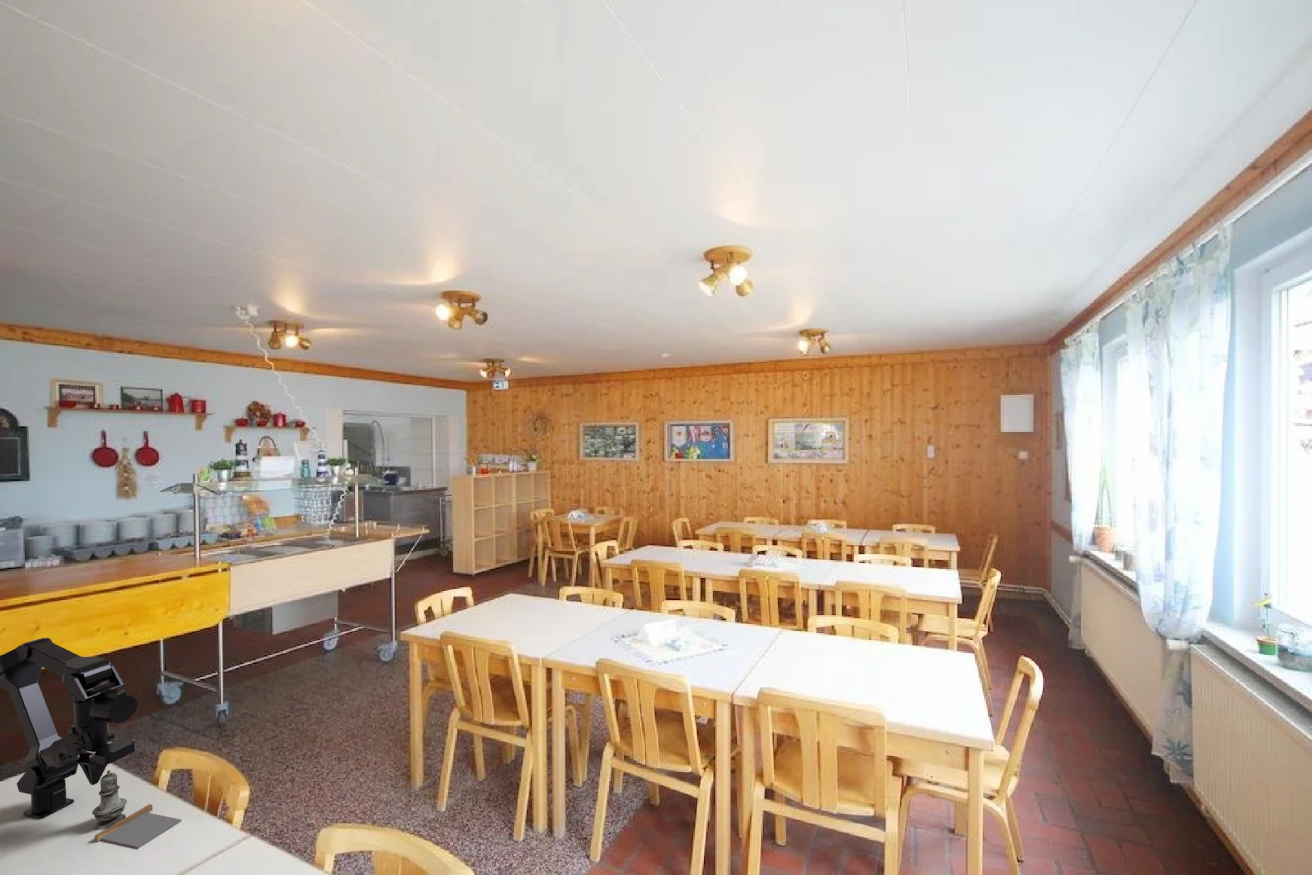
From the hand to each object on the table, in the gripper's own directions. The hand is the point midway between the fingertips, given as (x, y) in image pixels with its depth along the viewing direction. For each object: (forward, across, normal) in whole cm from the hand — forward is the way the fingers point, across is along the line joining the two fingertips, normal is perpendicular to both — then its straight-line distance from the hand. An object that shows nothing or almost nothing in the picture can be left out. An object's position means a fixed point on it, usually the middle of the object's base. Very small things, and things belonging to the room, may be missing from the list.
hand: (94, 783), depth 136 cm
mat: (+8, +15, 0) cm, 17 cm away
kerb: (+8, +9, 0) cm, 12 cm away
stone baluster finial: (+8, +5, 0) cm, 10 cm away
